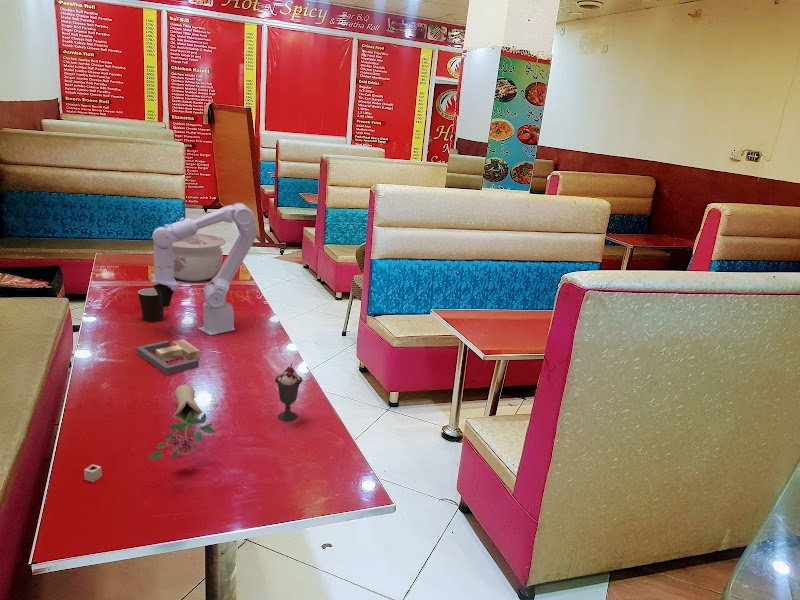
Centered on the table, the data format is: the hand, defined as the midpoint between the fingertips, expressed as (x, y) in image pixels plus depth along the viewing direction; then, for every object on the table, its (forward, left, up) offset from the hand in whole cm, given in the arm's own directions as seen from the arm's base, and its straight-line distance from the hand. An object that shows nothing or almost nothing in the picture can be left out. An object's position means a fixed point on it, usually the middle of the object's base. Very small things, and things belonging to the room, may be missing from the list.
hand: (165, 306), depth 184 cm
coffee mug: (-4, -16, -10) cm, 19 cm away
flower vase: (+26, +62, -10) cm, 68 cm away
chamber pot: (-41, -57, -10) cm, 71 cm away
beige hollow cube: (+47, +65, -10) cm, 81 cm away
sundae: (+3, +69, -10) cm, 70 cm away
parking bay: (+10, +20, -9) cm, 24 cm away
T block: (+7, +20, -9) cm, 23 cm away
